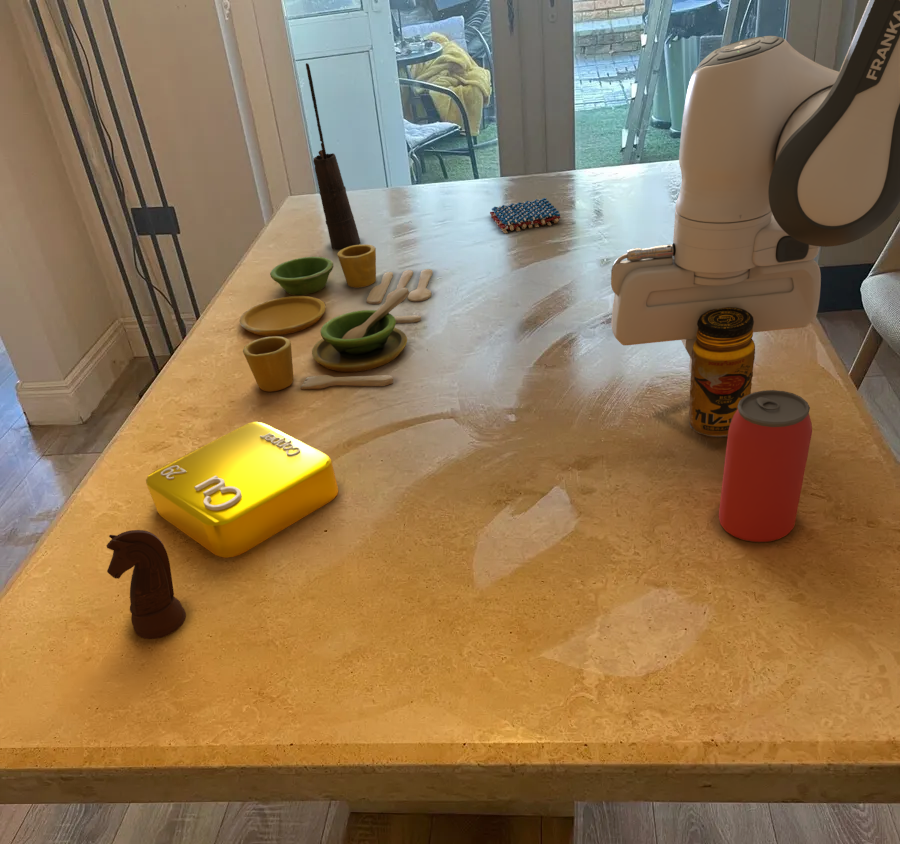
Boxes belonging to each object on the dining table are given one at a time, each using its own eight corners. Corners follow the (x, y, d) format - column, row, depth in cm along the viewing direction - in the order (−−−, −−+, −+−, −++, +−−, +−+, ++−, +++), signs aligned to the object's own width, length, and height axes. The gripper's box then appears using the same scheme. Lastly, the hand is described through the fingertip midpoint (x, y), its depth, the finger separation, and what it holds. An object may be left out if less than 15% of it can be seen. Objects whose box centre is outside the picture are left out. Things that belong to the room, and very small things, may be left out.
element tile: (347, 494, 88) (338, 454, 85) (227, 565, 81) (212, 525, 78) (266, 450, 97) (255, 413, 94) (151, 511, 90) (135, 473, 87)
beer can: (763, 496, 80) (781, 379, 72) (810, 532, 75) (835, 411, 68) (703, 516, 79) (715, 400, 71) (747, 555, 74) (764, 434, 66)
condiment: (714, 449, 87) (723, 339, 79) (660, 417, 93) (663, 312, 85) (767, 423, 89) (781, 314, 81) (711, 394, 95) (719, 290, 87)
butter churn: (321, 238, 154) (284, 58, 135) (373, 233, 153) (343, 51, 134) (313, 256, 147) (273, 69, 129) (367, 250, 146) (334, 61, 128)
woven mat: (488, 218, 152) (487, 206, 150) (545, 208, 152) (545, 196, 151) (501, 235, 144) (500, 223, 142) (562, 225, 145) (561, 212, 143)
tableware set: (394, 393, 105) (386, 344, 101) (186, 401, 110) (170, 355, 105) (442, 269, 135) (437, 228, 131) (277, 279, 140) (267, 240, 136)
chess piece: (130, 619, 77) (88, 530, 70) (185, 598, 78) (147, 509, 72) (141, 648, 74) (98, 558, 67) (198, 625, 75) (160, 535, 69)
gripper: (617, 262, 80) (613, 395, 89) (838, 239, 79) (811, 376, 88) (606, 240, 85) (604, 368, 94) (815, 217, 83) (792, 350, 92)
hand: (706, 372), depth 91 cm, fingers closed
